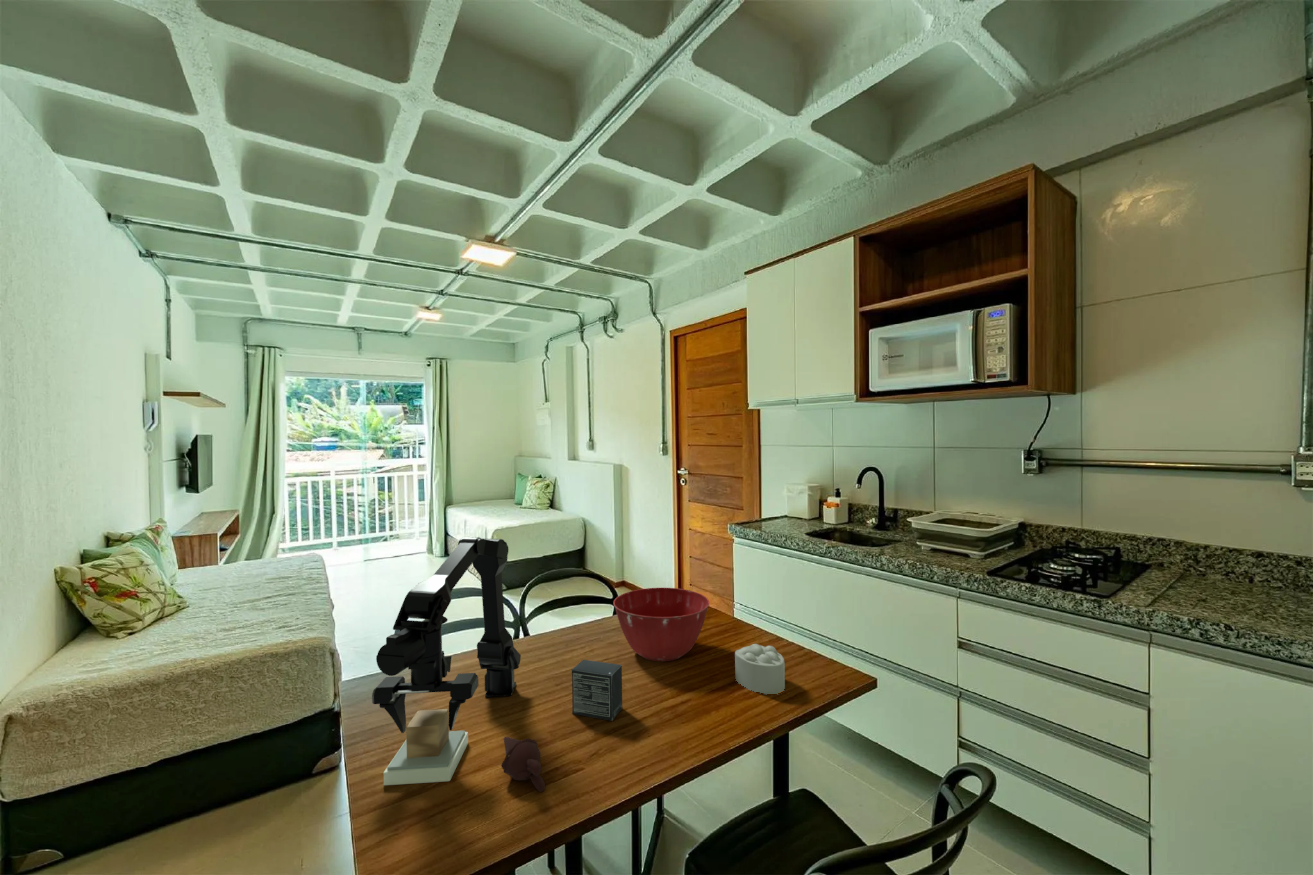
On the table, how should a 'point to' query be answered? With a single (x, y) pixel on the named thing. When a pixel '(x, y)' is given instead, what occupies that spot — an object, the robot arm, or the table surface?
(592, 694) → the small box
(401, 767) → the pedestal
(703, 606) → the mixing bowl
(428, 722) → the oak cube
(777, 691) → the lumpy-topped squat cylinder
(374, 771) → the table surface
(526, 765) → the maroon toy figure
